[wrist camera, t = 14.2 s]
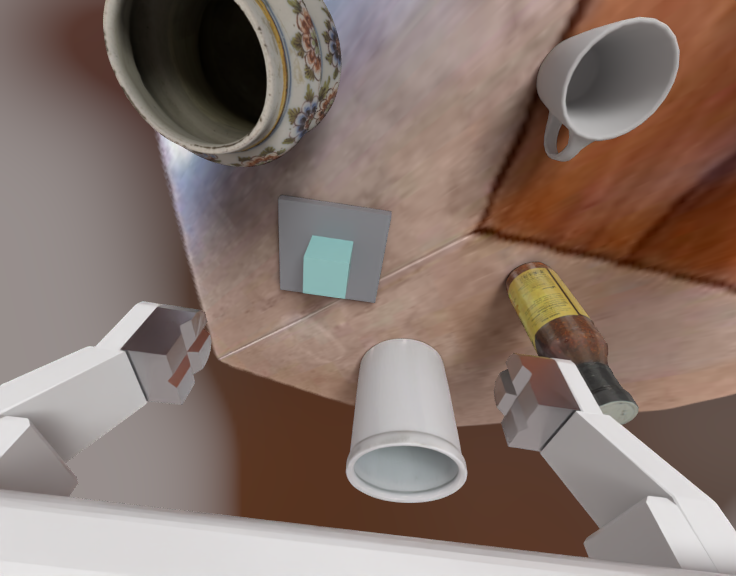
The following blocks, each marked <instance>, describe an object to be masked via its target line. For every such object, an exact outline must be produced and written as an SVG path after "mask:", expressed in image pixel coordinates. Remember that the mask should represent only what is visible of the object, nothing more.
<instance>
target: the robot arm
mask: <svg viewBox="0 0 736 576" xmlns="http://www.w3.org/2000/svg"><path fill="white" fill-rule="evenodd" d="M206 323H207V318H206V314H205V312H203V311H201V310H196V309H190V308H184V307H178V306H171V305H165V304H157V303H150V302H145V301H143V302H140V303H138V304H136V305H135V306H134V307H133V308H132V309H131V310H130V311H129V312H128V313H127V314H126V315H125V316H124V318H122V320H121V321H120V322H119V323H118V324H117V325H116V326H115V327H114V328H113V329H112V330H111V331H110V332H109V333H108V334H107V335H106V336H105V337H104V338H103V339H102V340H101V341H100V342H99V343H98V344H97V345H96V346H95V347H91V346H88V347H86V348H83V349H81V350H79V351H76V352H74V353H72V354H70V355H67V356H65V357H63V358H61V359H59V360H56V361H54V362H52V363H50V364H47V365H45V366H43V367H40V368H38V369H36V370H34V371H31V372H29V373H27V374H25V375H22V376H20V377H18V378H15V379H13V380H11V381H9V382H7V383H4V384H2V385H0V576H736V531H735V530H734V528H733V527H732V525H731V524H730V522H729V521H728V520H727V518H726V517H725V515H724V514H723V512H722V511H721V509H720V508H719V506H718V505H717V504H716V502H714V501H713V500H712V499H711V498H709V497H708V496H707V495H706V494H705V493H703V492H702V491H701V490H700V489H698V488H697V487H696V486H695V485H693V484H692V483H691V482H690V481H689V480H687V479H686V478H685V477H684V476H683V475H681V474H680V473H679V472H678V471H677V470H675V469H674V468H673V467H672V466H670V465H669V464H668V463H667V462H666V461H664V460H663V459H662V458H661V457H660V456H658V455H657V454H656V453H655V452H653V451H652V450H651V449H650V448H649V447H647V446H646V445H645V444H644V443H642V442H641V441H640V440H639V439H638V438H636V437H635V436H634V435H633V434H631V433H630V432H629V431H628V430H627V429H625V428H624V427H623V426H622V425H621V424H619V423H618V422H617V421H616V420H614V419H613V418H612V417H611V416H610V415H604V414H603V413H602V411H601V409H600V408H599V406H598V404H597V402H596V401H595V399H594V397H593V395H592V393H591V392H590V390H589V388H588V386H587V385H586V383H585V381H584V379H583V378H582V376H581V374H580V372H579V370H578V369H577V367H576V365H575V364H574V363H573V362H572V361H570V360H564V359H556V358H547V357H540V356H532V355H524V354H516V353H513V354H512V355H510V356H509V358H508V359H507V361H506V365H507V368H508V369H507V370H505V371H503V372H501V373H499V375H498V377H497V379H496V381H495V388H494V397H495V402H496V406H497V408H498V409H499V410H500V411H501V412H502V413H503V414H504V415H505V416H504V418H503V420H502V422H501V424H502V427H503V431H504V433H505V437H506V441H507V444H508V446H509V447H515V448H522V449H528V450H534V451H541V452H540V453H541V455H542V456H543V458H544V459H545V460H546V461H547V463H548V464H549V465H550V466H551V467H552V469H553V470H554V471H555V473H556V474H557V475H558V476H559V478H560V479H561V480H562V481H563V482H564V484H565V485H566V486H567V488H568V489H569V490H570V491H571V493H572V494H573V495H574V496H575V498H576V499H577V500H578V501H579V503H580V504H581V505H582V506H583V508H584V509H585V510H586V511H587V513H588V514H589V515H590V516H591V518H592V519H593V520H594V521H595V522H596V524H597V525H598V526H599V528H600V529H599V530H598V531H596V532H595V533H593V534H592V535H590V536H589V537H587V539H586V541H585V542H584V545H585V548H586V551H587V553H588V556H589V558H585V557H576V556H566V555H559V554H550V553H542V552H534V551H525V550H516V549H508V548H500V547H491V546H482V545H474V544H466V543H457V542H448V541H440V540H432V539H423V538H414V537H406V536H397V535H389V534H381V533H372V532H363V531H355V530H347V529H338V528H330V527H321V526H313V525H304V524H295V523H287V522H278V521H270V520H262V519H253V518H244V517H236V516H227V515H218V514H210V513H202V512H193V511H185V510H176V509H168V508H159V507H151V506H141V505H133V504H125V503H116V502H108V501H98V500H91V499H81V498H74V497H69V496H70V494H71V493H72V492H73V490H74V488H75V487H76V486H77V484H78V481H77V477H76V476H75V475H74V473H73V472H72V471H71V470H70V468H69V467H68V466H67V465H66V464H65V463H66V462H67V461H69V460H70V459H71V458H73V457H74V456H76V455H77V454H78V453H80V452H81V451H83V450H84V449H85V448H87V447H88V446H89V445H91V444H92V443H93V442H95V441H96V440H97V439H99V438H100V437H102V436H103V435H104V434H106V433H107V432H108V431H110V430H111V429H113V428H114V427H115V426H117V425H118V424H119V423H121V422H122V421H123V420H125V419H126V418H127V417H129V416H130V415H132V414H133V413H134V412H136V411H137V410H138V409H139V408H141V407H142V406H144V405H145V404H146V403H147V401H151V402H161V403H171V404H181V405H182V404H183V402H184V401H185V399H186V397H187V395H188V394H189V392H190V390H191V388H192V387H193V385H194V383H195V381H194V377H193V374H195V373H196V372H198V371H200V370H201V369H203V367H204V365H205V364H206V362H207V360H208V357H209V353H210V350H211V338H210V334H209V333H208V332H207V331H206V330H205V329H204V326H205V325H206Z"/></svg>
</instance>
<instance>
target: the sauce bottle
mask: <svg viewBox="0 0 736 576" xmlns="http://www.w3.org/2000/svg"><path fill="white" fill-rule="evenodd" d="M506 287H507V292H508V296H509V299H510V301H511V303H512V305H513V307H514V309H515V310H516V312H517V314H518V316H519V319H520V321H521V323H522V324H523V326H524V328H525V330H526V332H527V334H528V336H529V338H530V340H531V342H532V344H533V346H534V348H535V350H536V352H537V354H538V356H540V357H547V358H556V359H564V360H570V361H572V362H573V363H574V364H575V365H576V367H577V369H578V370H579V372H580V374H581V376H582V378H583V379H584V381H585V383H586V385H587V386H588V388H589V390H590V392H591V393H592V395H593V397H594V399H595V401H596V402H597V404H598V406H599V408H600V409H601V411H602V413H603V414H604V415H610V416H611V417H612V418H613V419H614V420H616V421H617V422H618V423H619V424H621V425H622V424H625V423H628V422H629V421H631V420H632V419H633V418H634V417H635V416H636V415H637V413H638V406H637V404H636V403H635V401H634V399H633V398H632V396H631V395H630V394H629V393H628V392H627V391H626V390H624V389H623V388H622V387H621V385H620V384H619V382H618V381H617V379H616V378H615V377H614V375H613V372H612V371H611V369H610V368H609V366H608V362H607V355H608V345H607V343H606V342H605V340H604V338H603V336H602V335H601V334H600V333H599V331H598V330H597V329H596V327H595V326H594V323H593V321H592V320H591V319H590V317H589V316H588V315H587V313H586V312H585V311H584V310H583V308H582V307H581V306H580V304H579V303H578V302H577V300H576V299H575V298H574V296H573V295H572V294H571V292H570V291H569V290H568V288H567V287H566V286H565V284H564V283H563V282H562V280H561V279H560V278H559V276H558V275H557V274H556V273H555V272H554V271H553V270H552V269H551V268H550V267H548V266H547V265H545V264H543V263H540V262H531V263H527V264H523V265H521V266H519V267H517V268H516V269H514V270H513V271H512V272H511V273H510V275H509V277H508V279H507V281H506Z"/></svg>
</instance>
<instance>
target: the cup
mask: <svg viewBox="0 0 736 576" xmlns="http://www.w3.org/2000/svg"><path fill="white" fill-rule="evenodd" d="M678 67H679V47H678V43H677V40H676V36H675V35H674V33H673V32H672V31H671V29H670V28H669V27H668V25H666V24H664V23H662V22H660V21H659V20H657V19H654V18H645V17H637V18H632V19H627V20H623V21H619V22H616V23H612V24H609V25H605V26H602V27H598V28H595V29H592V30H589V31H586V32H584V33H581V34H578V35H576V36H573V37H571V38H568V39H566V40H564V41H562V42H561V43H559V44H558V45H557V46H556V47H554V48H553V49H552V50H551V51H550V53H549V54H548V55H547V56H546V58H545V59H544V61H543V63H542V65H541V66H540V69H539V72H538V75H537V84H536V86H537V92H538V95H539V97H540V99H541V101H542V102H543V103H544V105H545V106H546V107H547V108H548V109H549V117H548V121H547V125H546V130H545V135H544V147H545V152H546V153H547V155H548V156H549V157H550V158H551V159H554V160H558V161H563V162H564V161H569V160H570V159H572V158H573V157H574V156H575V155H577V154H578V152H579V151H580V150H581V149H583V148H584V147H585V146H587V145H588V144H590V143H592V142H593V141H602V140H608V139H613V138H616V137H618V136H621V135H623V134H626V133H628V132H629V131H631V130H633V129H634V128H636V127H637V126H639V125H641V124H642V123H643V122H644V121H645V120H646V119H647V118H649V117H650V116H651V115H652V114H653V113H654V112H655V111H656V110H657V108H658V107H659V106H660V105H661V103H662V102H663V101H664V100H665V98H666V96H667V94H668V93H669V91H670V89H671V87H672V85H673V83H674V81H675V77H676V74H677V71H678ZM562 124H563V125H565V126H566V127H567V128H568V129H569V142H568V145H567V146H566V147H565V148H564V150H563V151H562V152H560V153H558V151H557V146H556V143H557V136H558V132H559V129H560V127H561V125H562Z"/></svg>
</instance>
